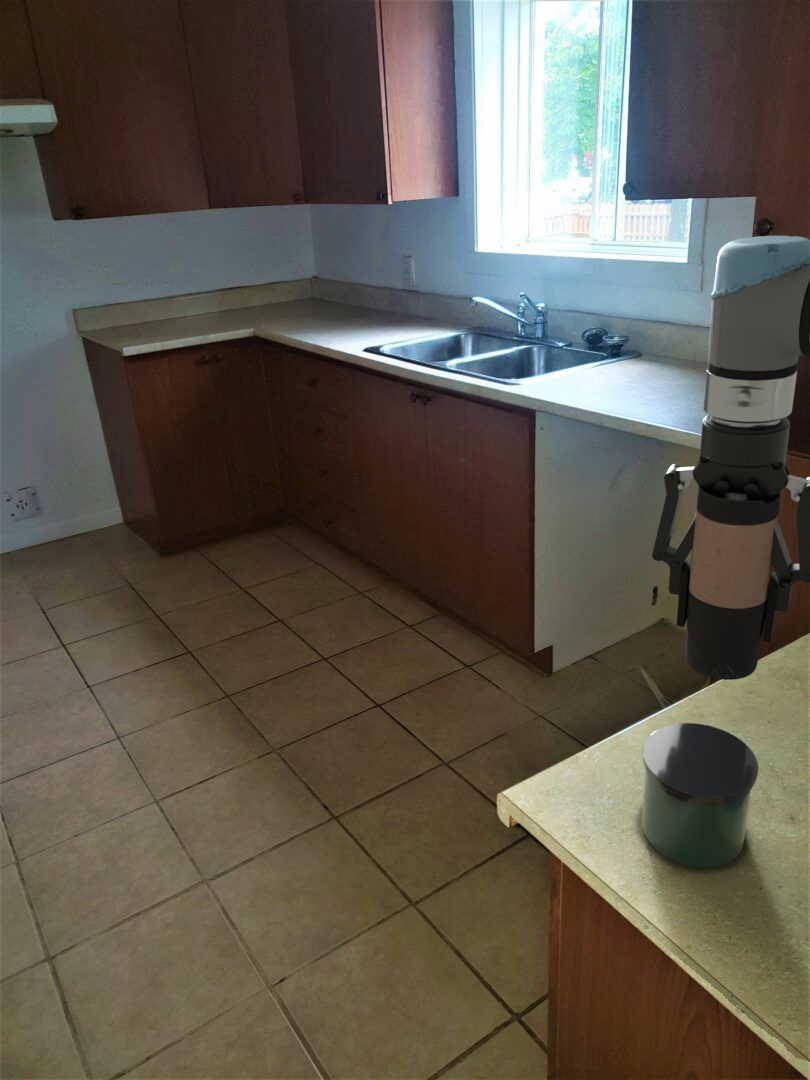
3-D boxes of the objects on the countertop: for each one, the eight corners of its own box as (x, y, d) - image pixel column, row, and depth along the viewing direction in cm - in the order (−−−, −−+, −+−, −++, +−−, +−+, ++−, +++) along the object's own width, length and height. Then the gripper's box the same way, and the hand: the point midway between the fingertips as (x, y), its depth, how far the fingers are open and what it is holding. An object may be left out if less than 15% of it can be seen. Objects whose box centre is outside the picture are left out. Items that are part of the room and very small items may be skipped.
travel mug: (680, 639, 91) (693, 471, 82) (753, 642, 89) (774, 471, 81) (686, 679, 84) (701, 501, 76) (765, 684, 82) (790, 502, 74)
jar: (739, 797, 88) (748, 726, 84) (756, 877, 79) (768, 801, 75) (635, 788, 91) (640, 719, 87) (640, 865, 81) (645, 791, 77)
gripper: (624, 420, 77) (616, 627, 87) (873, 437, 68) (832, 667, 77) (642, 398, 83) (633, 594, 92) (873, 411, 73) (836, 627, 83)
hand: (724, 627), depth 85 cm, fingers closed on travel mug, 8 cm apart
